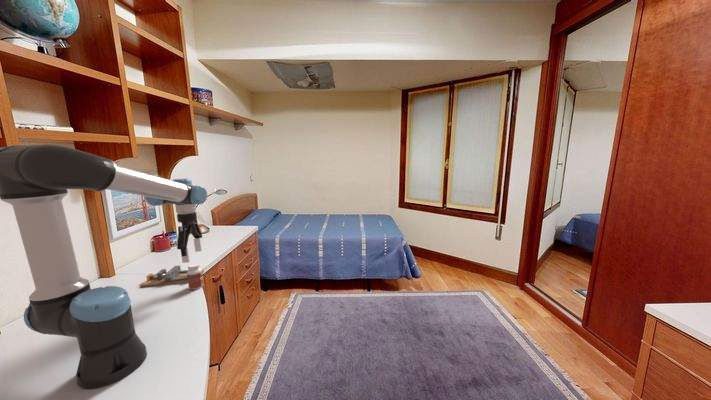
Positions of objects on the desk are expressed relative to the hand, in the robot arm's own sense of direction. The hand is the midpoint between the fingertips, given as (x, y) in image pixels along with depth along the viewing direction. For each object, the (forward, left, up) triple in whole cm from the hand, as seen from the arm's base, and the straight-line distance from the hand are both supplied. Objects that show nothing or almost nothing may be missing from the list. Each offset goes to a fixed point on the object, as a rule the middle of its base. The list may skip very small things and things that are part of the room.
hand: (192, 256), depth 121 cm
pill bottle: (0, 0, -15) cm, 15 cm away
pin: (+12, +23, -14) cm, 29 cm away
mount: (+12, +15, -15) cm, 25 cm away
